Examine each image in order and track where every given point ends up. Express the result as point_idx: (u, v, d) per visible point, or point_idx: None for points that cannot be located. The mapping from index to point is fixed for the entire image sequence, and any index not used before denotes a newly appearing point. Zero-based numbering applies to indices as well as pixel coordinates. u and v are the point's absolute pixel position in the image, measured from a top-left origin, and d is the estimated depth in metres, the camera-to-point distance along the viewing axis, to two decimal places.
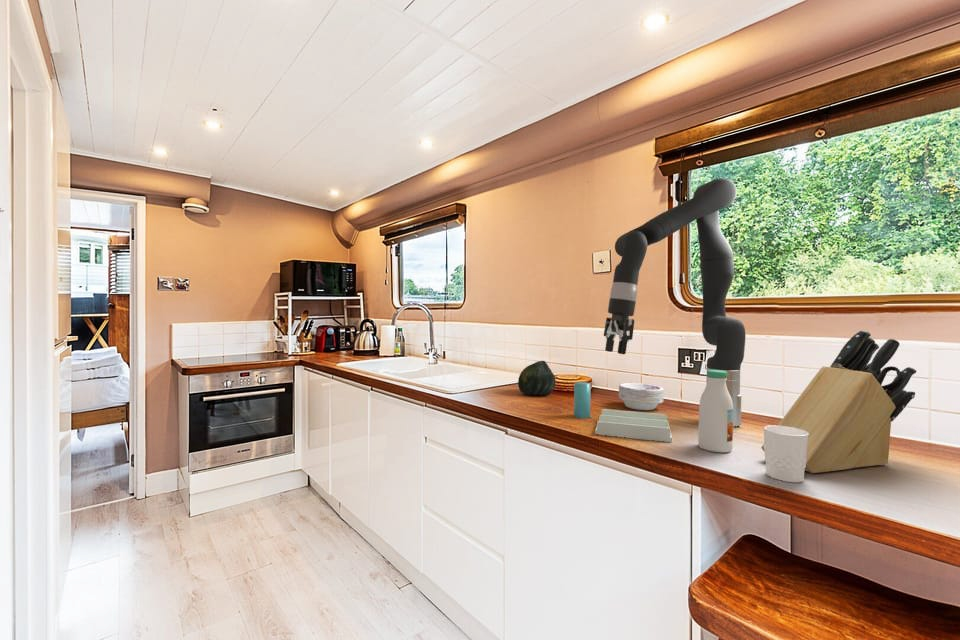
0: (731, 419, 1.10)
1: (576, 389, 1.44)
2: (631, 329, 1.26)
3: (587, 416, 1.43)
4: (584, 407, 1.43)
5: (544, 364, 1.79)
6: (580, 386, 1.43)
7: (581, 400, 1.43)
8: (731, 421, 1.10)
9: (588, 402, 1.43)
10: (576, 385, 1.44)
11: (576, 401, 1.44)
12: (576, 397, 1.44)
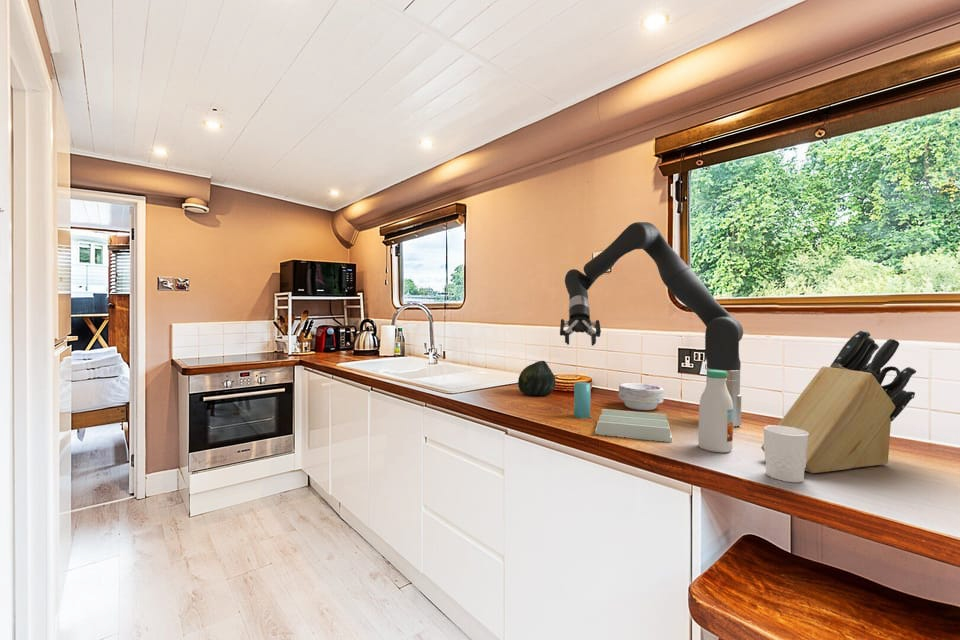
0: (731, 419, 1.10)
1: (576, 389, 1.44)
2: (560, 326, 1.61)
3: (587, 416, 1.43)
4: (584, 407, 1.43)
5: (544, 364, 1.79)
6: (580, 386, 1.43)
7: (581, 400, 1.43)
8: (731, 421, 1.10)
9: (588, 402, 1.43)
10: (576, 385, 1.44)
11: (576, 401, 1.44)
12: (576, 397, 1.44)
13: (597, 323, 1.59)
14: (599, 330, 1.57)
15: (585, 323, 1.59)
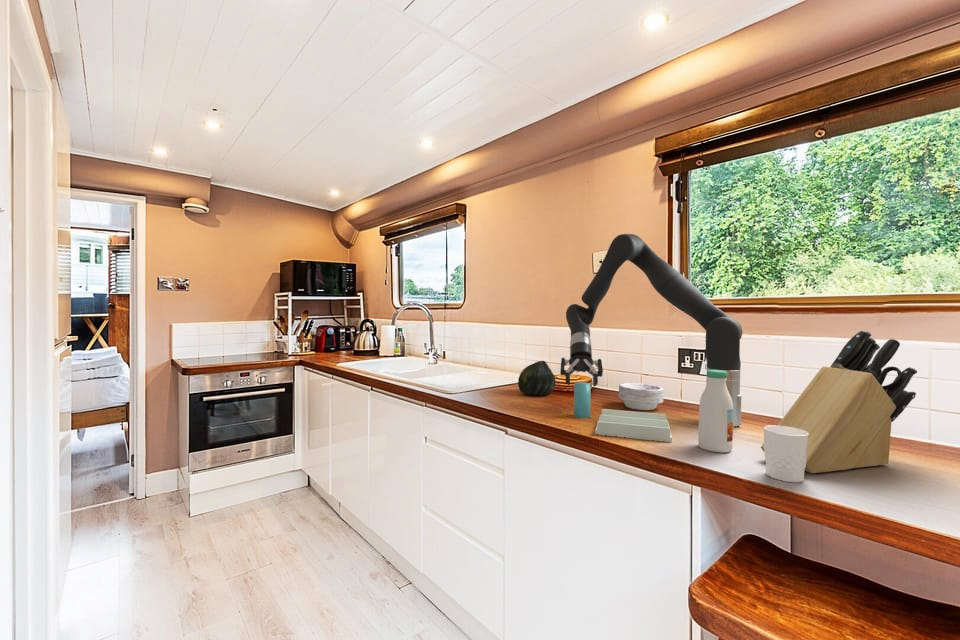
0: (731, 419, 1.10)
1: (576, 389, 1.44)
2: None
3: (587, 416, 1.43)
4: (584, 407, 1.43)
5: (544, 364, 1.79)
6: (580, 386, 1.43)
7: (581, 400, 1.43)
8: (731, 421, 1.10)
9: (588, 402, 1.43)
10: (576, 385, 1.44)
11: (576, 401, 1.44)
12: (576, 397, 1.44)
13: (599, 362, 1.54)
14: (601, 370, 1.51)
15: (586, 362, 1.54)
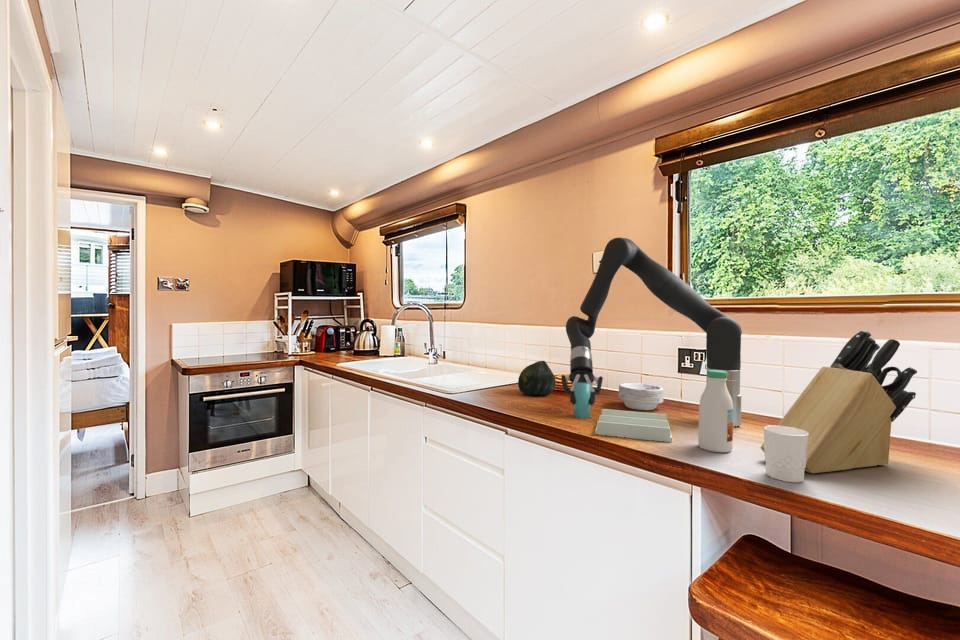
0: (731, 419, 1.10)
1: (576, 389, 1.44)
2: (563, 383, 1.49)
3: (587, 416, 1.43)
4: (584, 407, 1.43)
5: (544, 364, 1.79)
6: (580, 386, 1.43)
7: (581, 400, 1.43)
8: (731, 421, 1.10)
9: (588, 402, 1.43)
10: (576, 385, 1.44)
11: (576, 401, 1.44)
12: (576, 397, 1.44)
13: (599, 380, 1.47)
14: (598, 388, 1.45)
15: (586, 378, 1.48)
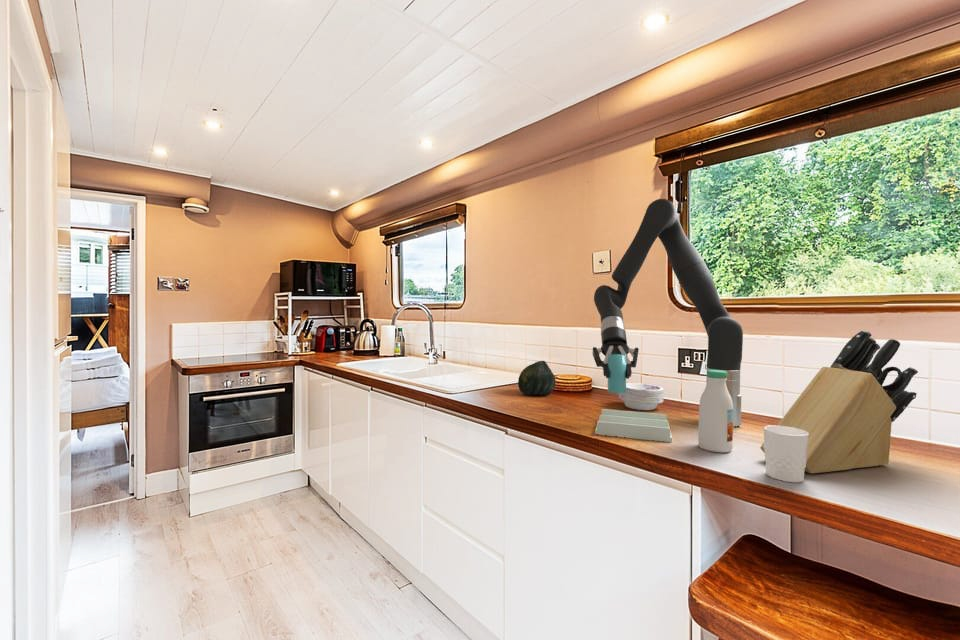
0: (731, 419, 1.10)
1: (610, 361, 1.30)
2: (594, 356, 1.35)
3: (623, 390, 1.29)
4: (619, 380, 1.29)
5: (544, 364, 1.79)
6: (615, 357, 1.29)
7: (616, 372, 1.29)
8: (731, 421, 1.10)
9: (624, 375, 1.29)
10: (610, 356, 1.30)
11: (610, 374, 1.30)
12: (610, 370, 1.30)
13: (635, 351, 1.34)
14: (635, 360, 1.32)
15: (621, 350, 1.34)
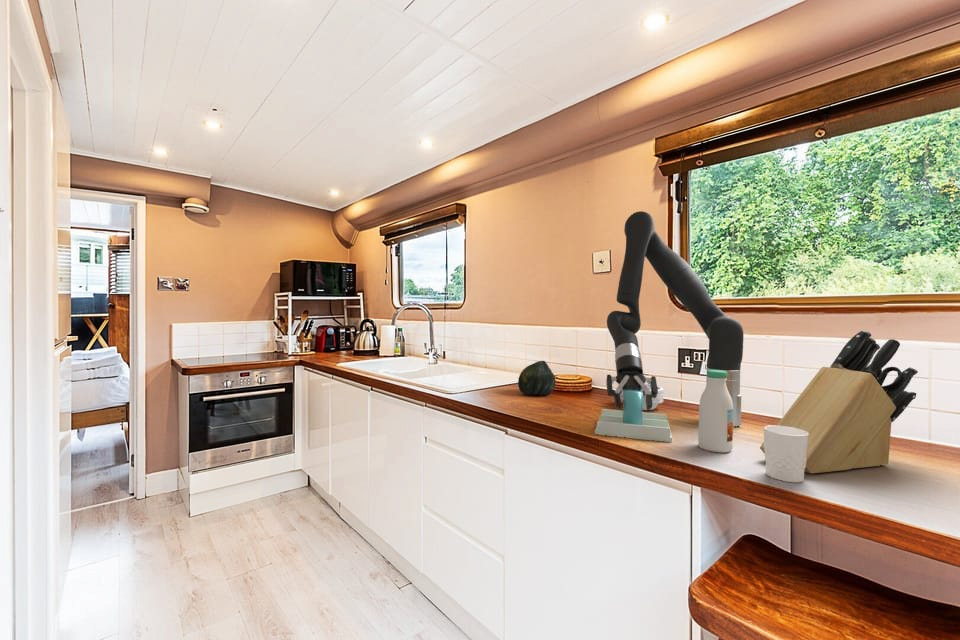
0: (731, 419, 1.10)
1: (626, 398, 1.24)
2: (607, 384, 1.30)
3: None
4: (636, 418, 1.23)
5: (544, 364, 1.79)
6: (631, 394, 1.23)
7: (633, 410, 1.23)
8: (731, 421, 1.10)
9: (640, 413, 1.24)
10: (626, 393, 1.24)
11: (626, 411, 1.24)
12: (626, 407, 1.24)
13: (653, 380, 1.28)
14: (655, 390, 1.26)
15: (638, 380, 1.28)
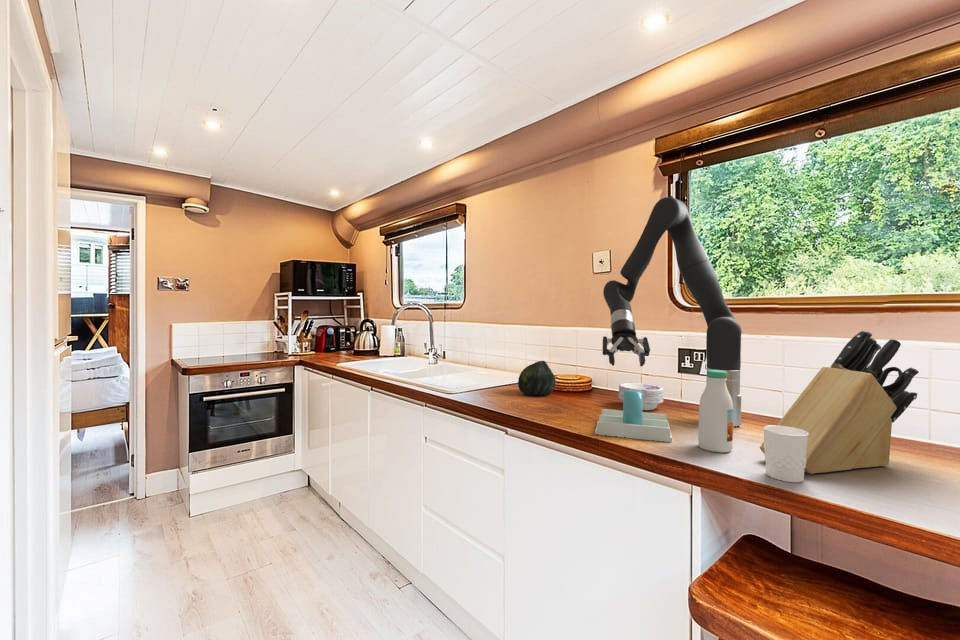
0: (731, 419, 1.10)
1: (626, 398, 1.24)
2: None
3: None
4: (636, 419, 1.23)
5: (544, 364, 1.79)
6: (631, 394, 1.23)
7: (633, 410, 1.23)
8: (731, 421, 1.10)
9: (640, 413, 1.24)
10: (626, 393, 1.24)
11: (626, 412, 1.24)
12: (626, 407, 1.24)
13: (645, 340, 1.41)
14: (648, 349, 1.39)
15: (631, 341, 1.41)
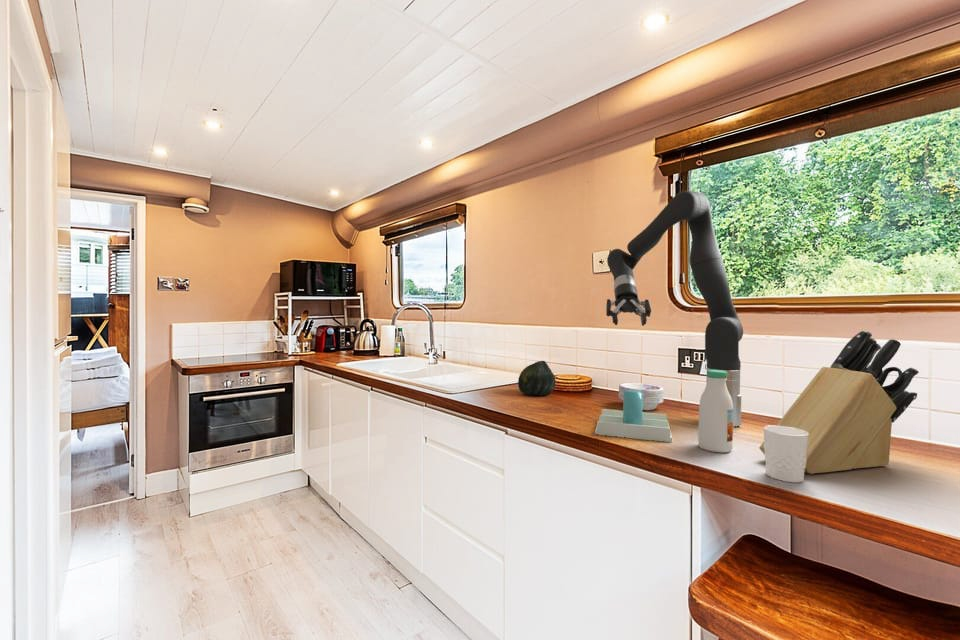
0: (731, 419, 1.10)
1: (626, 398, 1.24)
2: (606, 306, 1.52)
3: None
4: (636, 419, 1.23)
5: (544, 364, 1.79)
6: (631, 394, 1.23)
7: (633, 410, 1.23)
8: (731, 421, 1.10)
9: (640, 413, 1.24)
10: (626, 393, 1.24)
11: (626, 412, 1.24)
12: (626, 407, 1.24)
13: (646, 302, 1.50)
14: (649, 309, 1.48)
15: (634, 302, 1.50)
